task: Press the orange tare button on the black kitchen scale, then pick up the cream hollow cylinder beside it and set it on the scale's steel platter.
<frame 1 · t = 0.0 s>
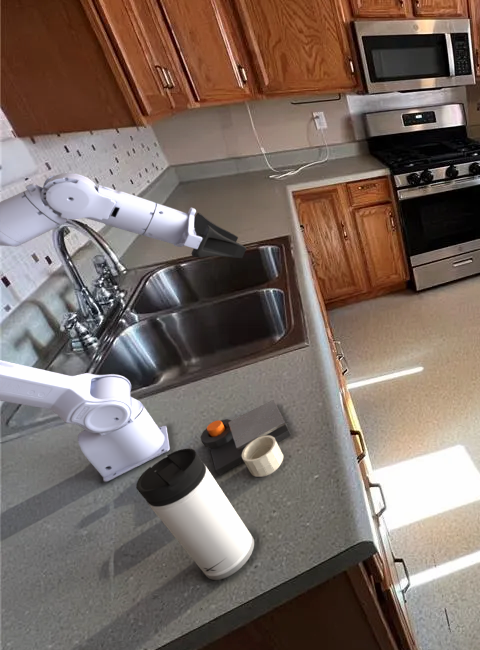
hand: (239, 247, 78), 32 cm above the worktop, tool tilted 50°, fingers open, 7 cm apart
tare button: (216, 428, 77), point 4 cm above the worktop, slide at 0.1 cm
cream hollow cylinder: (268, 465, 73), on the worktop
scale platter: (257, 424, 77), resting on scale
travel mug: (231, 557, 60), on the worktop
scale: (250, 438, 78), on the worktop
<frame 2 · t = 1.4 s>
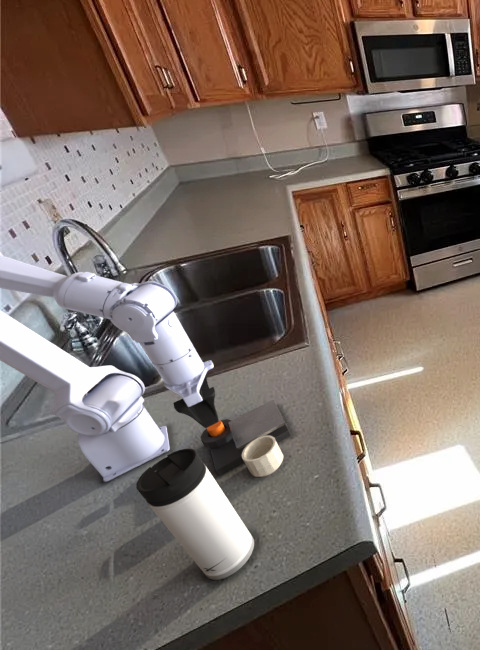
hand: (208, 412, 75), 8 cm above the worktop, tool pointing down, fingers open, 7 cm apart
nothing on the worktop moved.
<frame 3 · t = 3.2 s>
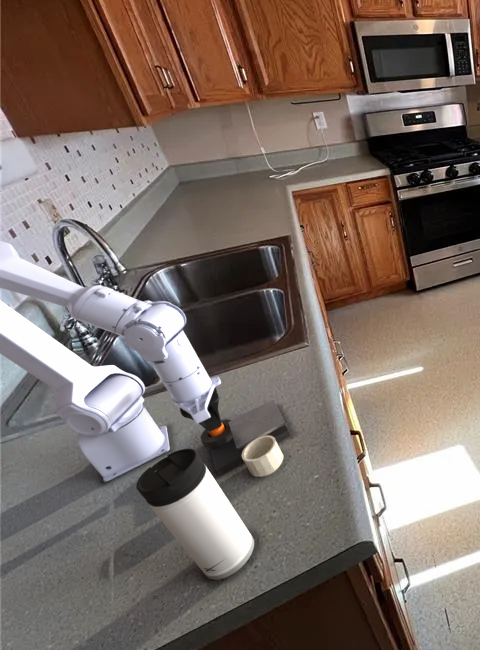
hand: (215, 426, 76), 4 cm above the worktop, tool pointing down, fingers closed, pressing on tare button
tare button: (216, 430, 77), point 3 cm above the worktop, slide at -0.2 cm, touching gripper
everything else where it was.
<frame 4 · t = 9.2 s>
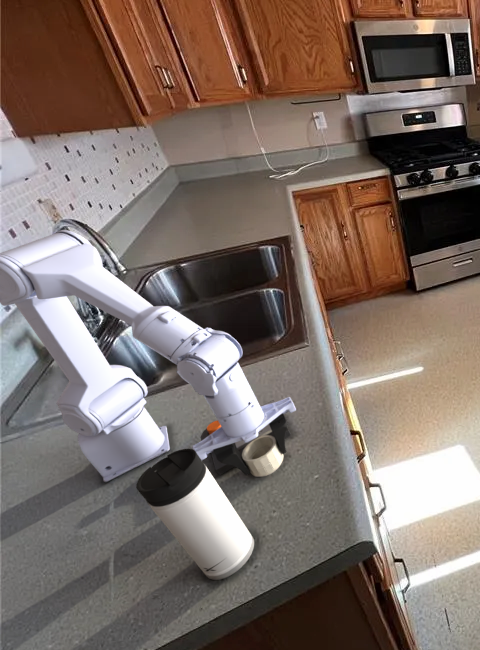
hand: (265, 459, 72), 1 cm above the worktop, tool pointing down, fingers closed on cream hollow cylinder, 5 cm apart
tare button: (216, 428, 77), point 4 cm above the worktop, slide at 0.1 cm
cream hollow cylinder: (268, 465, 73), on the worktop, touching gripper
everything else where it was.
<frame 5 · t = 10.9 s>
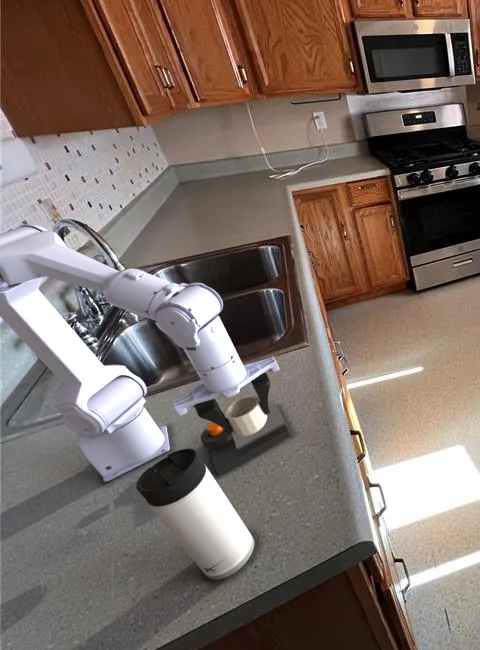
hand: (248, 420, 71), 8 cm above the worktop, tool pointing down, fingers closed on cream hollow cylinder, 5 cm apart
cream hollow cylinder: (251, 425, 72), point 7 cm above the worktop, touching gripper
everything else where it was.
when the fingers open (5 cm above the worktop, at t = 12.8 s): cream hollow cylinder stays where it is, resting on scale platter.
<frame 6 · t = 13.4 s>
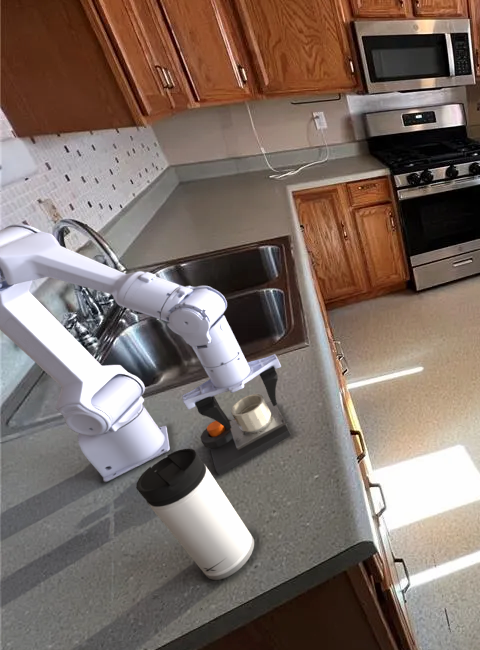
hand: (251, 413, 76), 6 cm above the worktop, tool pointing down, fingers open, 7 cm apart
cream hollow cylinder: (256, 422, 77), point 4 cm above the worktop, touching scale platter
everything else where it was.
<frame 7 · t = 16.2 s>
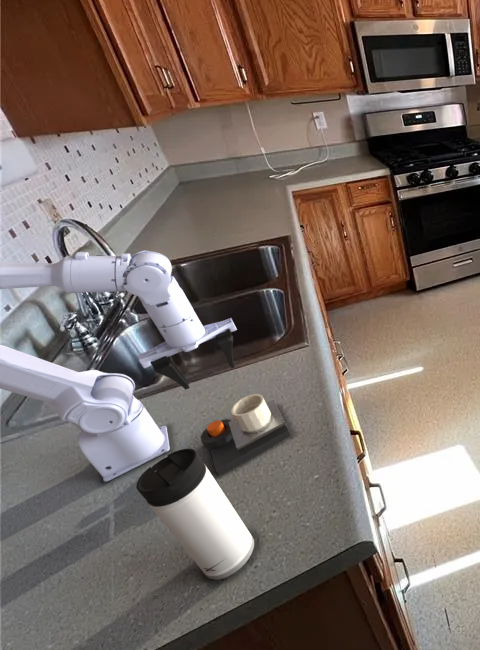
hand: (210, 375, 80), 10 cm above the worktop, tool pointing down, fingers open, 7 cm apart
nothing on the worktop moved.
at the end: tare button pushed in 1.0 cm at the most during the clip, back to where it started at the end; cream hollow cylinder 0.1 cm from the target spot on the scale, point 3.6 cm above the scale's base; cream hollow cylinder tilted 0° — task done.
